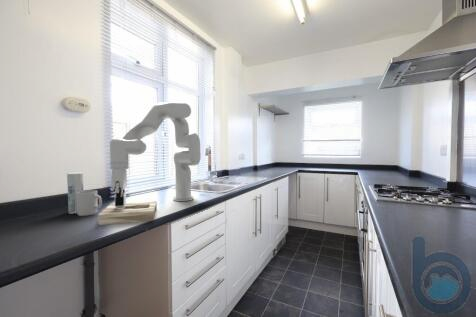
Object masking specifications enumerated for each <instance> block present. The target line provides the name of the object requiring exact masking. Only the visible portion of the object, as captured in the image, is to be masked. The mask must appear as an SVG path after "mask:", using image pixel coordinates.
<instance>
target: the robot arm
mask: <svg viewBox="0 0 476 317" xmlns="http://www.w3.org/2000/svg"><path fill="white" fill-rule="evenodd" d="M191 114H192V108H191V106H190V105H189V104H188V103H186V102H176V101H175V102H173V101H171V102H170V101H169V102H158V103H155V104H154V105H153V106H152V107H151V109H150V110H149V111H148V112H147V114H146V116H144V118H143V119H142V120H141V121H140V122H139V123H138V124H136V125H135V126H133V128H131V129H129V130H128V131H127V132H126V134H124V136H123V137H122V139H119V138H118V139H117V138H116V139H115V138H114V139H111V140H110V142H109V157H110V158H109V161H110V163H109V164H110V165H109V166H110V170H111V179H110V180H111V182H110V184H111V185H110V186H111V187H110V189H111V192H114V204H115V206H123V197H122V192H126V188H127V187H128V186H127V185H128V174H127V170H128V169H129V168H130V165H129V160H130V159H129V157H130V156H129V155H132V156H134V155H137V156H138V155H142V154H144V153H145V152H146V150H147V145H146V143H145V141H143V140H142V139H143V138H146V137H148V136H150V135H152V134H154V133H156V132H157V130H158V129H159V128H160V126H161V125H162V124H163V122H164V120H165V119H170V120H171V122H172V123H173V126H174V131H175V132H174V134H175V135H174V137H175V144H176V147H177V148H181V149H180V150H177V151H175V153H174V155H173V162H174V168H175V196H174V197H173V201H175V202H189V201H192V200H194V196H193V195H192V177H191V176H192V170H191V167H192V166H197V165H199V164H200V162H201V140H200V137H199V135H198V134H197V133H196V132H190V128H189V127H190V126H189V123H188V121H187V119H186V118H189V116H191ZM190 166H191V167H190ZM120 192H121V193H120Z"/></svg>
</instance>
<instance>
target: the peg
mask: <svg viewBox="0 0 476 317" xmlns="http://www.w3.org/2000/svg"><path fill="white" fill-rule="evenodd" d="M120 193H121V192H120ZM122 197H123V206H115V207H116V210H117V209H125V205H126V203H127V192H126V191H125V192H122Z"/></svg>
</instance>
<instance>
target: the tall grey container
mask: <svg viewBox="0 0 476 317" xmlns="http://www.w3.org/2000/svg"><path fill="white" fill-rule="evenodd" d="M66 179H67V202H68V203H67V205H68V207H67V208H68V214H71V215H72V214H74V213H75V214H77V192H80V191H84V173H83V172H80V171H79V172H76V171H75V172H68V173H66Z"/></svg>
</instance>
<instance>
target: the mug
mask: <svg viewBox="0 0 476 317" xmlns="http://www.w3.org/2000/svg"><path fill="white" fill-rule="evenodd" d="M102 206H103V199H102V197H101V195H99V194H98V190H96V189H95V190H94V189H90V190H89V189H88V190H83V191H80V192H77V213H76V214H77V216H80V217H86V216H91V215H95V214H97V213H98V212H99V209H100V208H102Z"/></svg>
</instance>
